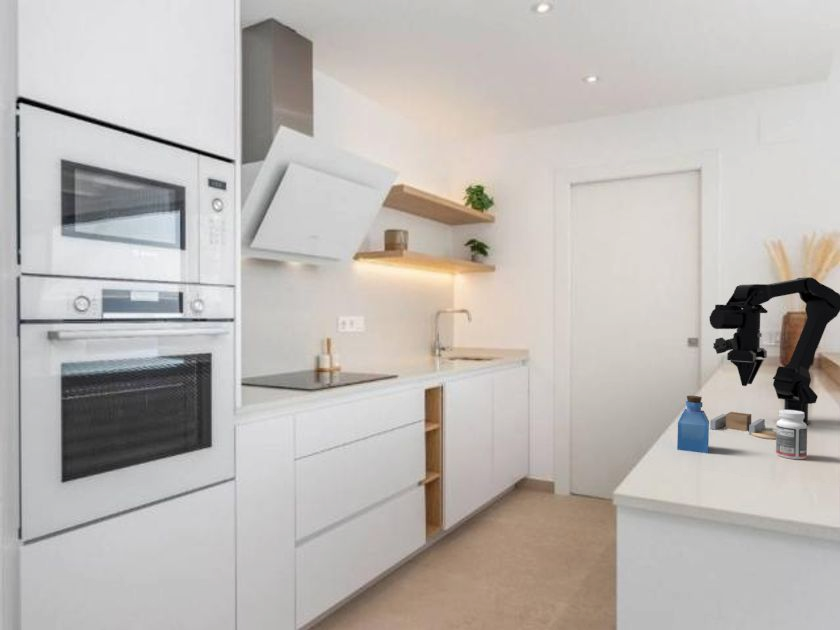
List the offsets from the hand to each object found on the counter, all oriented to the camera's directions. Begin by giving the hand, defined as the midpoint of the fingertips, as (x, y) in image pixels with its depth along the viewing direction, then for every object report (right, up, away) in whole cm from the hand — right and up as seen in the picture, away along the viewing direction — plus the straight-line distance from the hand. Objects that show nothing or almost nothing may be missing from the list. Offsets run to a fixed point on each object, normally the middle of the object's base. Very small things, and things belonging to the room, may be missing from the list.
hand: (746, 384), depth 163 cm
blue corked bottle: (-29, -11, -29) cm, 43 cm away
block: (-5, -11, -6) cm, 14 cm away
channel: (-6, -11, -6) cm, 14 cm away
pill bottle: (-10, -12, -35) cm, 38 cm away
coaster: (-3, -11, -15) cm, 19 cm away
